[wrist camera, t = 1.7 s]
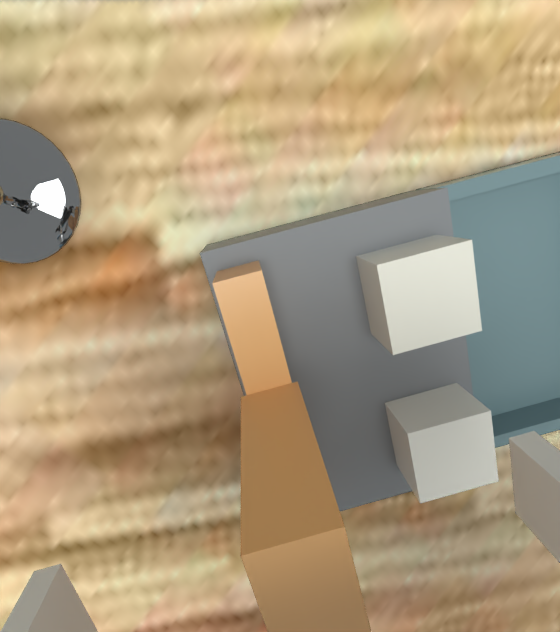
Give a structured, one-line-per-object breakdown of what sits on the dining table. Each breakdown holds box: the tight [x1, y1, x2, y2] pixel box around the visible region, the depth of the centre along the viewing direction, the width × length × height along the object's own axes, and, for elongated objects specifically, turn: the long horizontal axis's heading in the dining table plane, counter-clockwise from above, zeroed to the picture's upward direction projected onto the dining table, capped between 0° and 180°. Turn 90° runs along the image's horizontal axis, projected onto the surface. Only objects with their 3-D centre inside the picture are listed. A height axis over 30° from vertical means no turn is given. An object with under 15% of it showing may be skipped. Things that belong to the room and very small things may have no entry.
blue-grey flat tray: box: [417, 152, 560, 448], centre depth 23 cm, size 16×10×2 cm, turn 14°
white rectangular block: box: [356, 235, 482, 355], centre depth 18 cm, size 4×4×3 cm
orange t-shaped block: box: [212, 260, 371, 632], centre depth 15 cm, size 14×2×11 cm, turn 14°
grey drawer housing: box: [200, 187, 473, 511], centre depth 22 cm, size 16×12×4 cm
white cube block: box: [385, 383, 499, 503], centre depth 20 cm, size 4×4×3 cm
